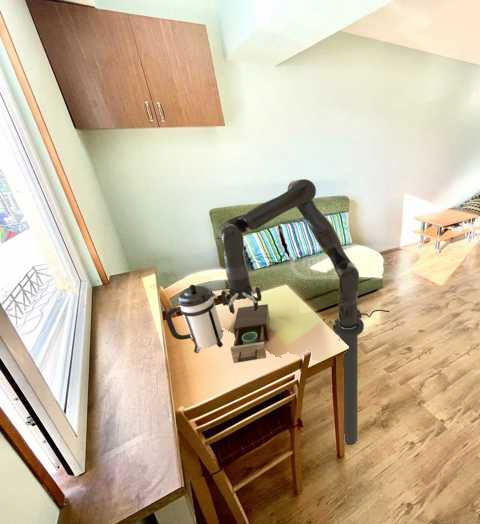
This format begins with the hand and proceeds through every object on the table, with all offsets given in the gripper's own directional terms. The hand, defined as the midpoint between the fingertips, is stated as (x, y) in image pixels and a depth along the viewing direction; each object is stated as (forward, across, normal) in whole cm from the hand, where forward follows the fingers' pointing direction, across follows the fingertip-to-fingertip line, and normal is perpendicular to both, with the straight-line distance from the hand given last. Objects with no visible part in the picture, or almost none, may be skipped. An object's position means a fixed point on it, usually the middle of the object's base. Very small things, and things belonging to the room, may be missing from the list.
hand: (244, 311), depth 111 cm
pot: (+18, 0, 0) cm, 18 cm away
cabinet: (+20, 0, -14) cm, 24 cm away
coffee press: (+20, +20, -10) cm, 30 cm away
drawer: (+19, 0, +2) cm, 19 cm away
